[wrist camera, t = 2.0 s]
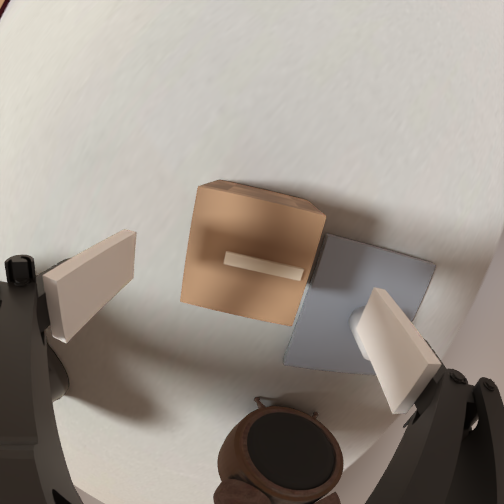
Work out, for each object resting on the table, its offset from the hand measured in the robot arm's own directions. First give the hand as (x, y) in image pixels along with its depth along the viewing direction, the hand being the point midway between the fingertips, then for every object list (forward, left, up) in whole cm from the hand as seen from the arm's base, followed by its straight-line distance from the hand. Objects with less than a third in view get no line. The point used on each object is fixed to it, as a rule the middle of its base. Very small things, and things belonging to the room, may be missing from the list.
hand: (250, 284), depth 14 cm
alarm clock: (+9, -23, -12) cm, 27 cm away
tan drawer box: (0, 0, -12) cm, 12 cm away
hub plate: (+13, -6, -12) cm, 18 cm away
